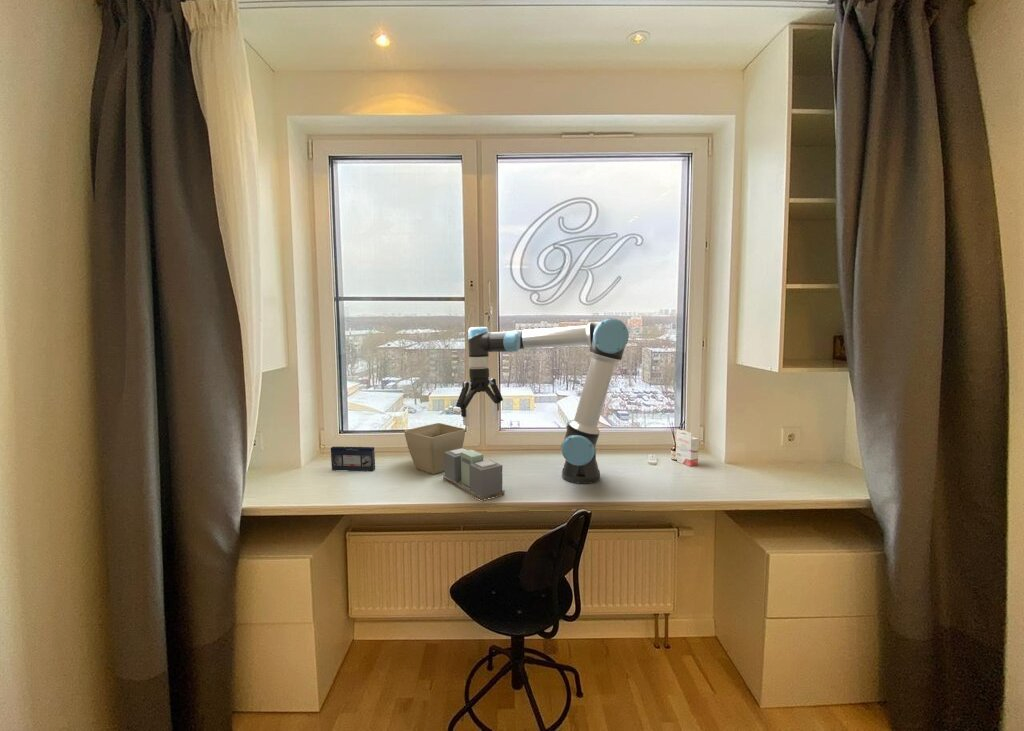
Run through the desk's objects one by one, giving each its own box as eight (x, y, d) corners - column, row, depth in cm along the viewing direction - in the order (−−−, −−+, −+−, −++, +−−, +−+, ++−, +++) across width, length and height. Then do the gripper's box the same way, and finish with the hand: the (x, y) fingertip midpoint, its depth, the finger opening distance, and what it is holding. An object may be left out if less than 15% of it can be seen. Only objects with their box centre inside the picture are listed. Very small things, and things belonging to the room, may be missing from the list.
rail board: (464, 473, 186) (464, 469, 185) (504, 494, 163) (504, 490, 163) (443, 478, 180) (443, 475, 179) (481, 501, 157) (481, 497, 157)
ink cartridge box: (698, 465, 195) (699, 431, 193) (690, 466, 192) (691, 433, 191) (682, 459, 202) (683, 427, 201) (674, 461, 200) (675, 428, 198)
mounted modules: (464, 471, 185) (463, 446, 184) (502, 491, 163) (502, 463, 162) (444, 476, 179) (444, 450, 178) (481, 497, 158) (481, 468, 157)
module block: (472, 479, 176) (472, 449, 175) (483, 485, 170) (483, 454, 168) (461, 482, 173) (460, 451, 172) (472, 488, 167) (471, 457, 165)
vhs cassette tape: (331, 470, 191) (330, 447, 190) (334, 468, 194) (333, 445, 193) (372, 472, 189) (371, 448, 187) (375, 469, 191) (374, 446, 190)
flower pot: (404, 468, 193) (403, 429, 191) (439, 458, 207) (438, 422, 205) (431, 479, 180) (430, 437, 178) (467, 467, 194) (466, 428, 192)
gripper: (499, 364, 182) (500, 415, 184) (445, 369, 167) (447, 426, 169) (510, 365, 176) (512, 418, 179) (456, 371, 161) (458, 429, 163)
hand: (480, 422), depth 174 cm, fingers open, 13 cm apart
